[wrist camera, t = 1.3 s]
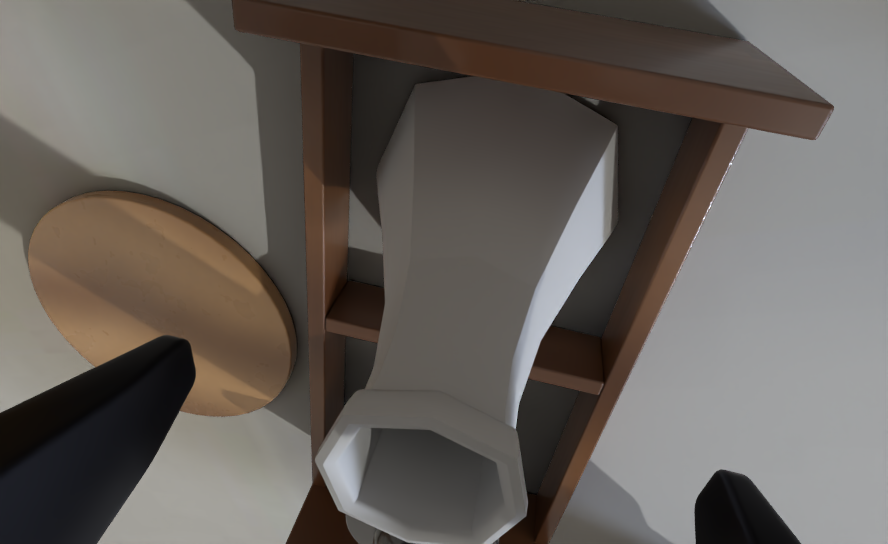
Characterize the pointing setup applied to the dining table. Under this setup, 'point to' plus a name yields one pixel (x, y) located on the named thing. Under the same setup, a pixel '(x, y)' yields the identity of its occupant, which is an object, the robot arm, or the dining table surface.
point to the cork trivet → (164, 295)
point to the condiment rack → (545, 67)
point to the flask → (468, 302)
